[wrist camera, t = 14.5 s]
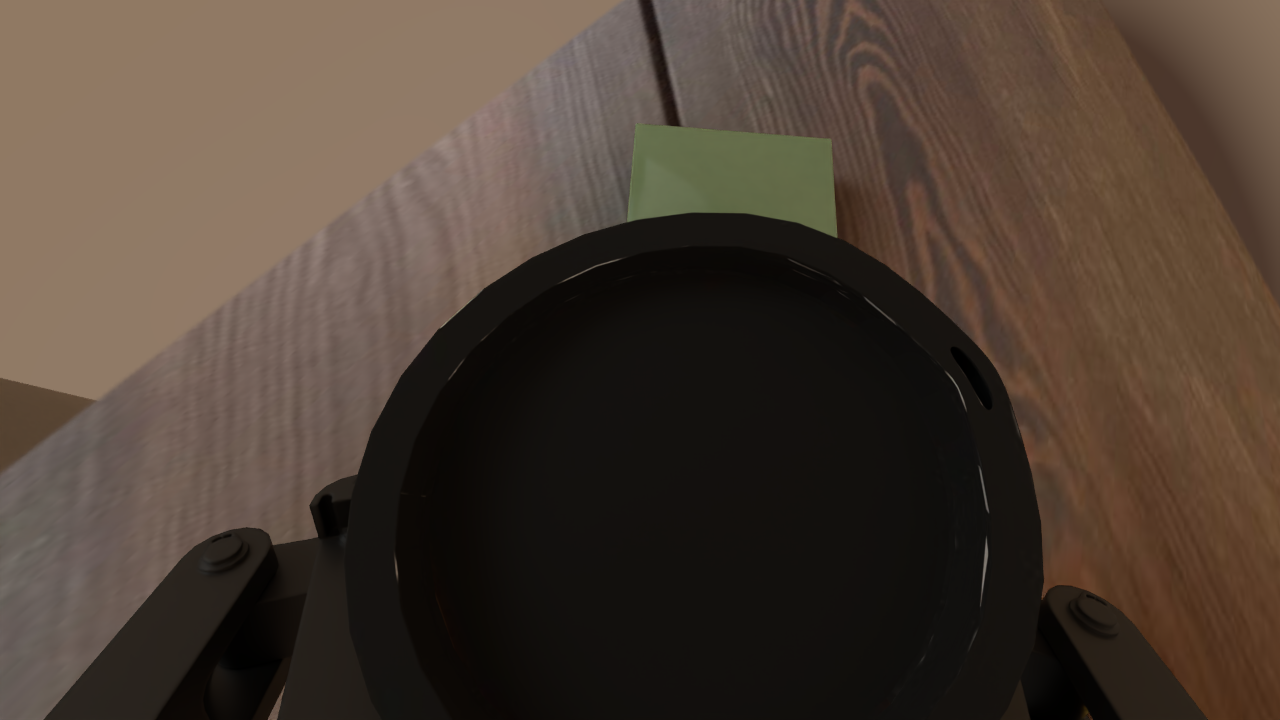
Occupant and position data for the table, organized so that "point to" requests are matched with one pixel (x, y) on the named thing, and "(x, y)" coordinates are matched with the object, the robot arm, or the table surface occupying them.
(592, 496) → the coffee cup
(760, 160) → the block
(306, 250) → the table surface
